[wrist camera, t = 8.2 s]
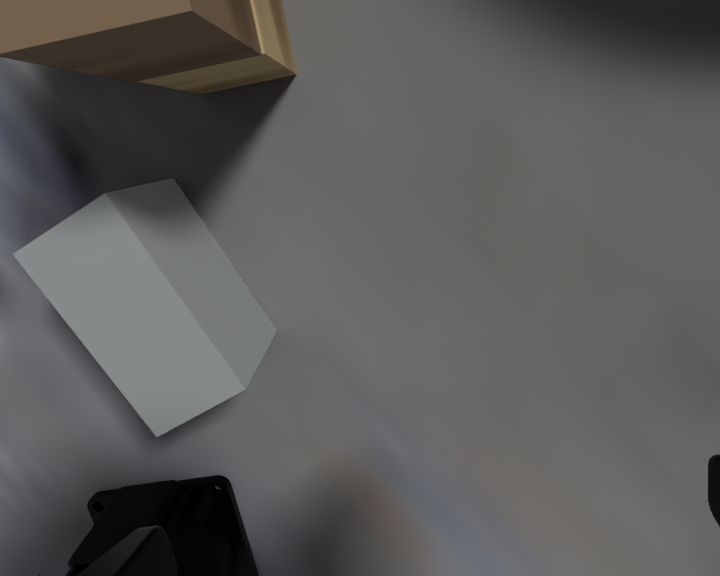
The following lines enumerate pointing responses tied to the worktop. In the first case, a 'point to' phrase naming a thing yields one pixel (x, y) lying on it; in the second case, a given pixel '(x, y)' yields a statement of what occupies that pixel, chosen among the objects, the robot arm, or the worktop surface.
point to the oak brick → (244, 71)
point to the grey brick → (152, 301)
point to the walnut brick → (128, 35)
